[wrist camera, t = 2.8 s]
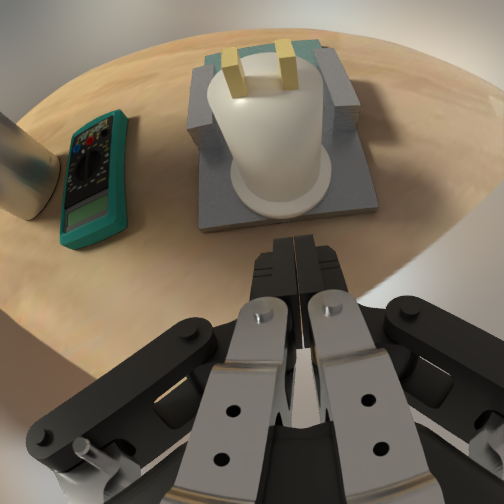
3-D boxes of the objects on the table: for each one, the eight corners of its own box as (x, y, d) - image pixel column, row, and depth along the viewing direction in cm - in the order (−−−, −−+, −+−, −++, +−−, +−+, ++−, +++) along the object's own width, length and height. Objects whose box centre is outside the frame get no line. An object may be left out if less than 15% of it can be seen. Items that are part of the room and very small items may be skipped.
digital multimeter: (131, 116, 27) (118, 101, 25) (131, 232, 23) (112, 220, 20) (83, 142, 28) (69, 130, 25) (74, 254, 24) (54, 246, 21)
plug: (235, 224, 20) (168, 125, 9) (232, 143, 22) (185, 34, 11) (338, 212, 19) (365, 96, 8) (320, 131, 21) (319, 12, 10)
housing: (203, 233, 21) (182, 213, 17) (207, 62, 27) (197, 37, 23) (375, 212, 19) (389, 187, 15) (318, 45, 25) (317, 19, 21)
